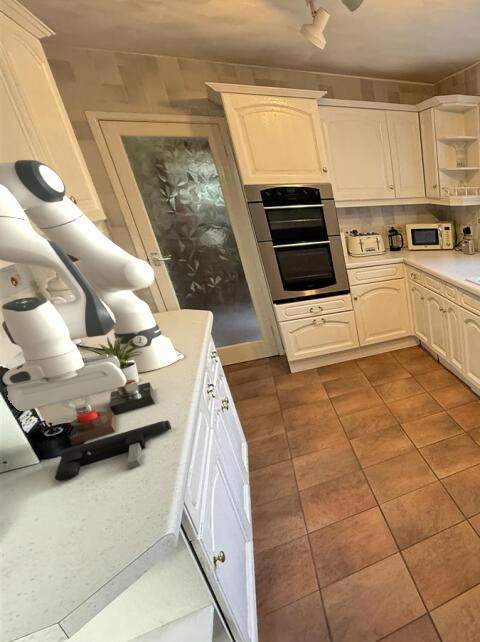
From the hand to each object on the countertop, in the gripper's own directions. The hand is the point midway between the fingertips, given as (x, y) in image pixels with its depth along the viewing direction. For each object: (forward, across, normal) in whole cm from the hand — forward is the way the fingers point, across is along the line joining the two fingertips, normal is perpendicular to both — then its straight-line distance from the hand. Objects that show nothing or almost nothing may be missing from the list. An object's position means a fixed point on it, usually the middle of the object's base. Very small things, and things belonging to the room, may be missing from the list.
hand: (83, 412), depth 102 cm
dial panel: (+6, -8, -13) cm, 17 cm away
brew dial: (+3, -8, -13) cm, 16 cm away
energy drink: (+6, +11, -98) cm, 99 cm away
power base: (+6, 0, 0) cm, 6 cm away
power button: (+2, 0, 0) cm, 2 cm away
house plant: (+6, -6, -31) cm, 32 cm away
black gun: (+6, -6, +20) cm, 22 cm away
